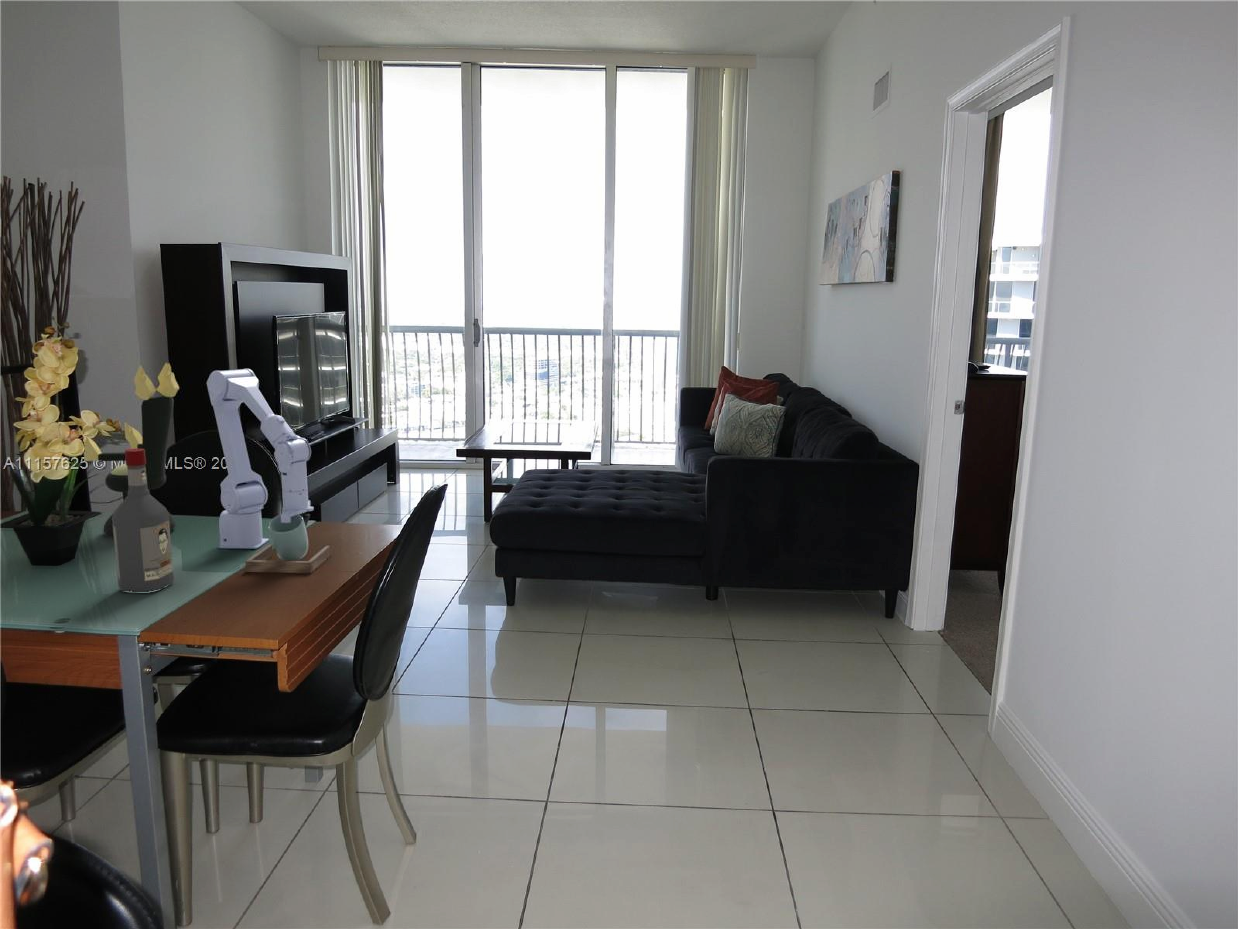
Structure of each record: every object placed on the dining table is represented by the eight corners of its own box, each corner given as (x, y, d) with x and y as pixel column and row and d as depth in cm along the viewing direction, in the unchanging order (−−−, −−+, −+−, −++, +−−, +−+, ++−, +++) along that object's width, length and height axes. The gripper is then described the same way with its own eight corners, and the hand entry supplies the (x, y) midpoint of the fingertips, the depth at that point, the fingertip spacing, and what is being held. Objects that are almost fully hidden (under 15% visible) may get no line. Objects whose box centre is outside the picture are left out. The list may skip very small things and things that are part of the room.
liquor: (112, 593, 184) (99, 453, 178) (139, 579, 192) (127, 445, 187) (154, 595, 183) (142, 454, 177) (179, 581, 192) (168, 447, 186)
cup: (316, 546, 211) (308, 513, 206) (303, 567, 205) (295, 533, 199) (285, 544, 212) (276, 511, 206) (271, 565, 205) (262, 531, 200)
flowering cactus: (133, 521, 240) (119, 357, 232) (209, 525, 238) (197, 359, 229) (84, 539, 222) (67, 362, 213) (166, 544, 219) (152, 364, 211)
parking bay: (245, 571, 199) (245, 561, 199) (268, 554, 212) (268, 544, 212) (311, 573, 199) (311, 562, 199) (330, 555, 212) (330, 545, 212)
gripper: (301, 496, 201) (304, 553, 204) (321, 483, 215) (324, 536, 218) (270, 496, 201) (274, 552, 204) (292, 482, 215) (296, 536, 218)
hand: (298, 544), depth 211 cm, fingers closed, pressing on cup
